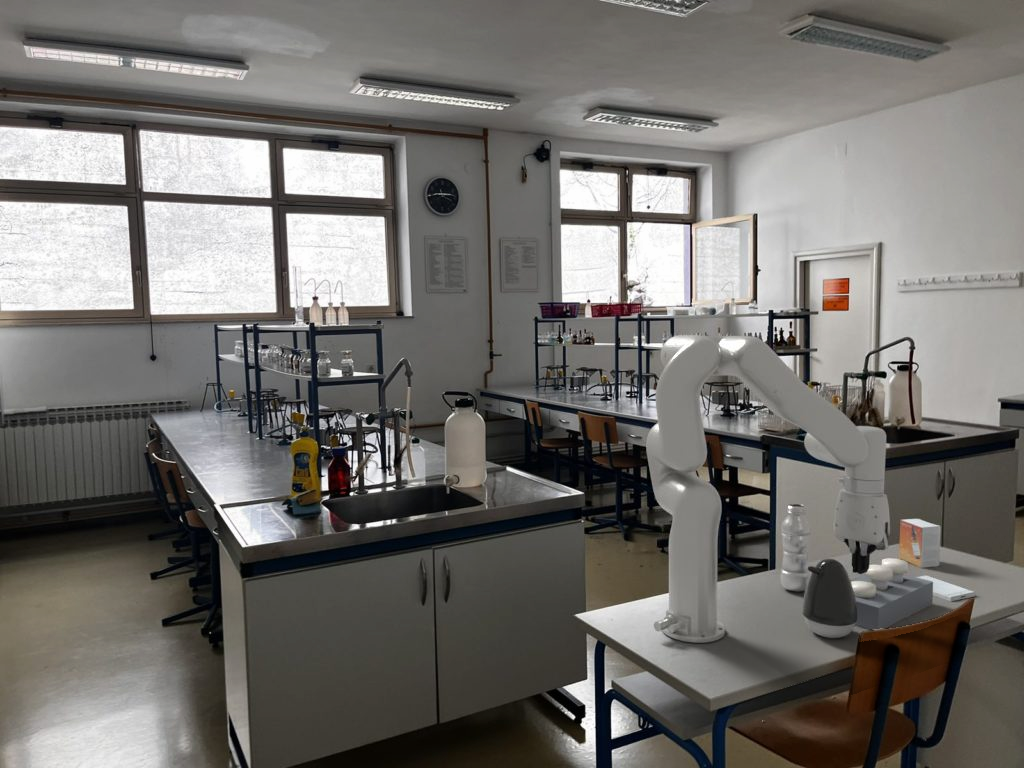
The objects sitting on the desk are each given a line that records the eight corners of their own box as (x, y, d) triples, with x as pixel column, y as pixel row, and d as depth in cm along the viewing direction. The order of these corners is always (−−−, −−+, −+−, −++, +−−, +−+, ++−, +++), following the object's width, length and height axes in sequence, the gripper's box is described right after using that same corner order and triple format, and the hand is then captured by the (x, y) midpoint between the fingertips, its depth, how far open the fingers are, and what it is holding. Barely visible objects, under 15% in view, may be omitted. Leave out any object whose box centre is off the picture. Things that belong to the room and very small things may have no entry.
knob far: (900, 593, 164) (901, 567, 164) (876, 586, 168) (877, 561, 168) (911, 587, 167) (912, 562, 167) (888, 581, 171) (888, 556, 171)
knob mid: (884, 600, 160) (885, 574, 159) (860, 594, 164) (861, 568, 164) (896, 595, 163) (897, 568, 163) (872, 588, 167) (873, 563, 167)
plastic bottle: (815, 594, 173) (816, 508, 171) (785, 594, 173) (786, 509, 172) (804, 585, 179) (806, 502, 178) (776, 585, 180) (777, 502, 178)
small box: (898, 558, 198) (899, 519, 197) (917, 557, 199) (918, 517, 198) (920, 568, 190) (922, 527, 189) (940, 566, 191) (941, 525, 190)
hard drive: (902, 579, 179) (950, 596, 168) (926, 574, 182) (976, 590, 171) (902, 586, 179) (950, 603, 168) (926, 581, 182) (975, 598, 171)
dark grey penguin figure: (790, 627, 155) (791, 554, 154) (831, 620, 158) (832, 549, 157) (826, 647, 145) (827, 570, 144) (868, 639, 149) (870, 563, 147)
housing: (878, 632, 152) (878, 607, 151) (822, 614, 161) (822, 591, 161) (932, 603, 166) (933, 581, 166) (878, 589, 176) (878, 568, 175)
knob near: (867, 618, 156) (868, 591, 155) (843, 611, 160) (844, 584, 160) (880, 612, 159) (880, 585, 159) (856, 605, 163) (856, 579, 163)
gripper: (820, 482, 161) (817, 566, 162) (891, 494, 149) (886, 585, 151) (839, 478, 166) (835, 560, 167) (909, 490, 154) (904, 578, 155)
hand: (860, 571), depth 159 cm, fingers closed
